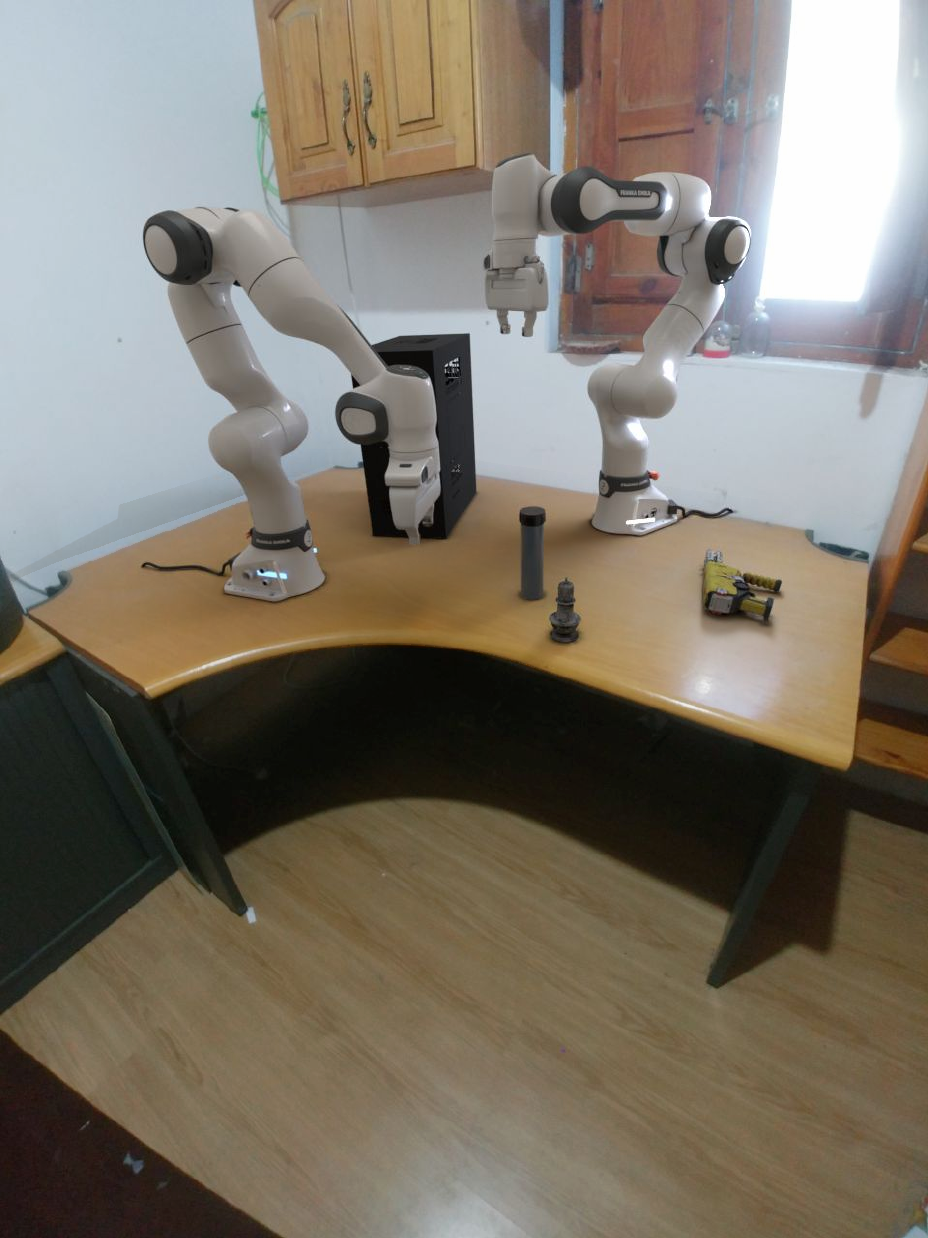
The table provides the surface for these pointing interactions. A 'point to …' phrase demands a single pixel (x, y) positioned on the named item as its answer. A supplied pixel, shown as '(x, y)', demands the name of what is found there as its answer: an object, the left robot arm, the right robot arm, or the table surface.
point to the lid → (532, 516)
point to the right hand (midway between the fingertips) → (516, 335)
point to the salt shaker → (565, 614)
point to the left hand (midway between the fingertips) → (422, 534)
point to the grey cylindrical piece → (532, 561)
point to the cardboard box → (450, 431)
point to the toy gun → (734, 588)
